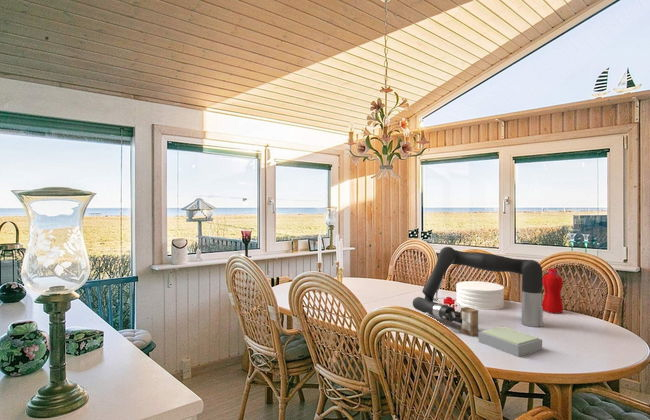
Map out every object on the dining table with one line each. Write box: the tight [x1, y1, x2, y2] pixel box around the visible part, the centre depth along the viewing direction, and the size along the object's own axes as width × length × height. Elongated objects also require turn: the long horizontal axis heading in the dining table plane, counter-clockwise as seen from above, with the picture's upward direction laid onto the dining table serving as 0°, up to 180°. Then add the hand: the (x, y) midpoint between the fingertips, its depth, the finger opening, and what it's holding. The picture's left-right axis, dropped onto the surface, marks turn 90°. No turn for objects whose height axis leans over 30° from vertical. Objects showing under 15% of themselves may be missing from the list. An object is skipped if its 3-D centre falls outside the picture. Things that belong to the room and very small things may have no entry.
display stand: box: [478, 326, 543, 357], centre depth 173 cm, size 20×16×5 cm
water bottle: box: [542, 267, 564, 314], centre depth 226 cm, size 9×11×25 cm
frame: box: [460, 306, 479, 337], centre depth 189 cm, size 7×4×12 cm, turn 28°
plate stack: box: [455, 280, 505, 310], centre depth 246 cm, size 28×28×12 cm
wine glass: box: [433, 277, 444, 302], centre depth 255 cm, size 8×8×15 cm
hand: (468, 319), depth 190 cm, fingers open, 8 cm apart
